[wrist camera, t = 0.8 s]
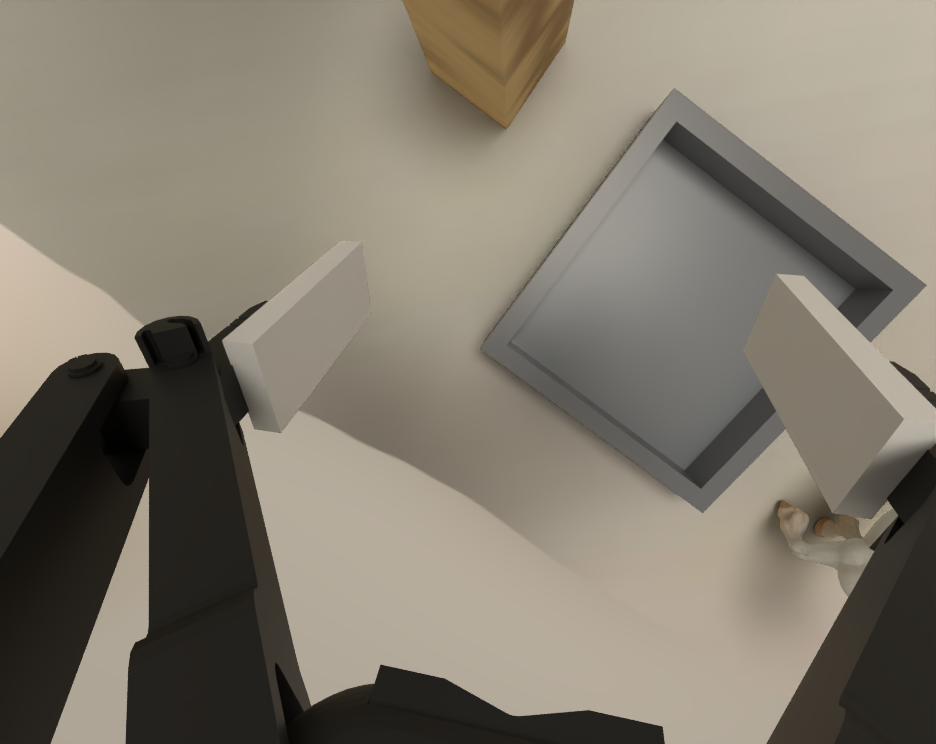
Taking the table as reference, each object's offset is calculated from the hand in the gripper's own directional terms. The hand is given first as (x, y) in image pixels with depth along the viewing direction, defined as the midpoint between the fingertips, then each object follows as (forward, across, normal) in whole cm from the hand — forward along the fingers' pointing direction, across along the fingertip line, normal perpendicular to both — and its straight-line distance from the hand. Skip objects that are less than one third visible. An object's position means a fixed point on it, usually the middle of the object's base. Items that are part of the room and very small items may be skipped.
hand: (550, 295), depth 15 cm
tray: (+15, +8, -8) cm, 19 cm away
